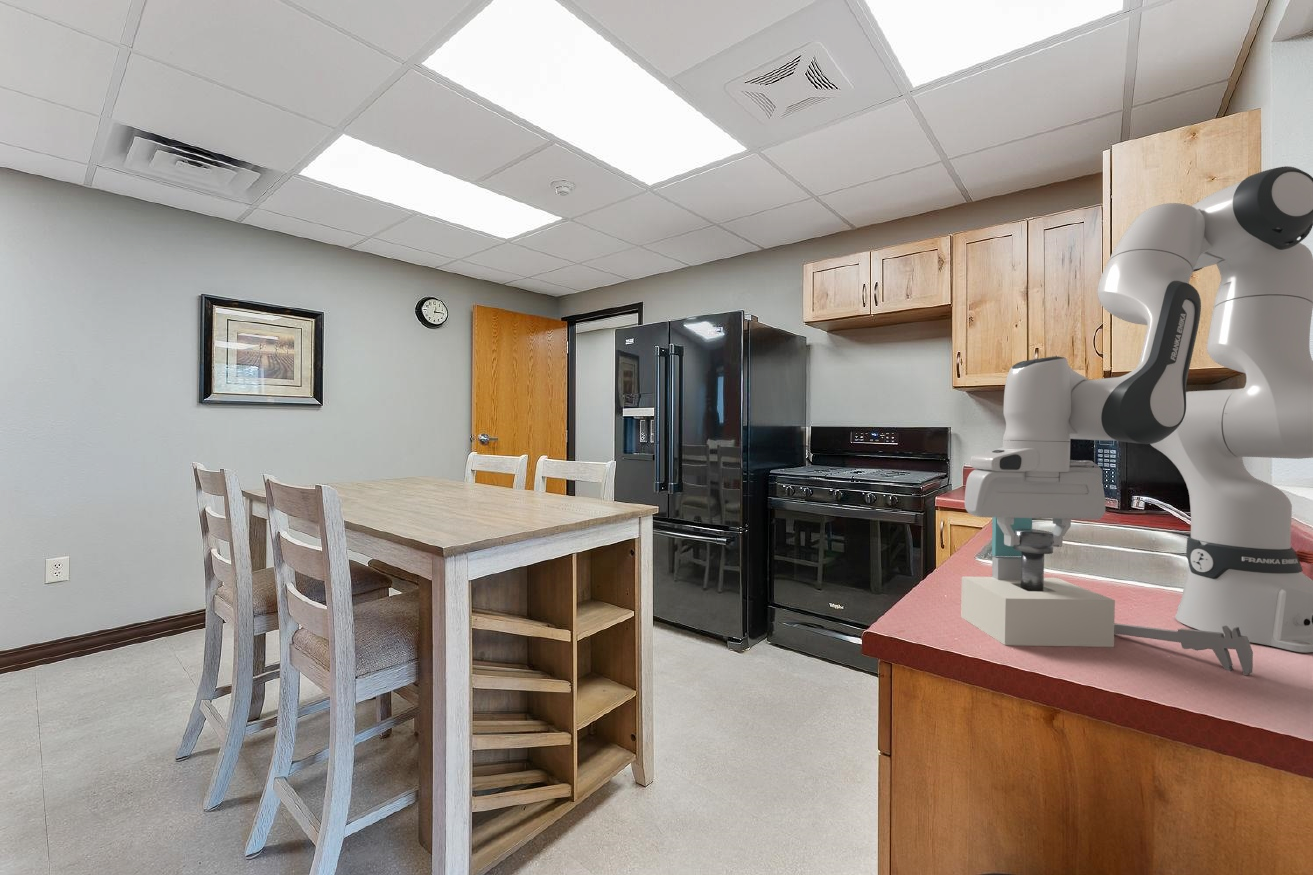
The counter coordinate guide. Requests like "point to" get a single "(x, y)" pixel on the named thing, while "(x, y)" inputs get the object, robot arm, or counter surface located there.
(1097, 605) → the block
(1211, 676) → the counter surface
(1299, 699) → the counter surface
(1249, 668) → the caliper
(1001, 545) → the block
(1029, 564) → the pin
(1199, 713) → the counter surface
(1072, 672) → the counter surface
